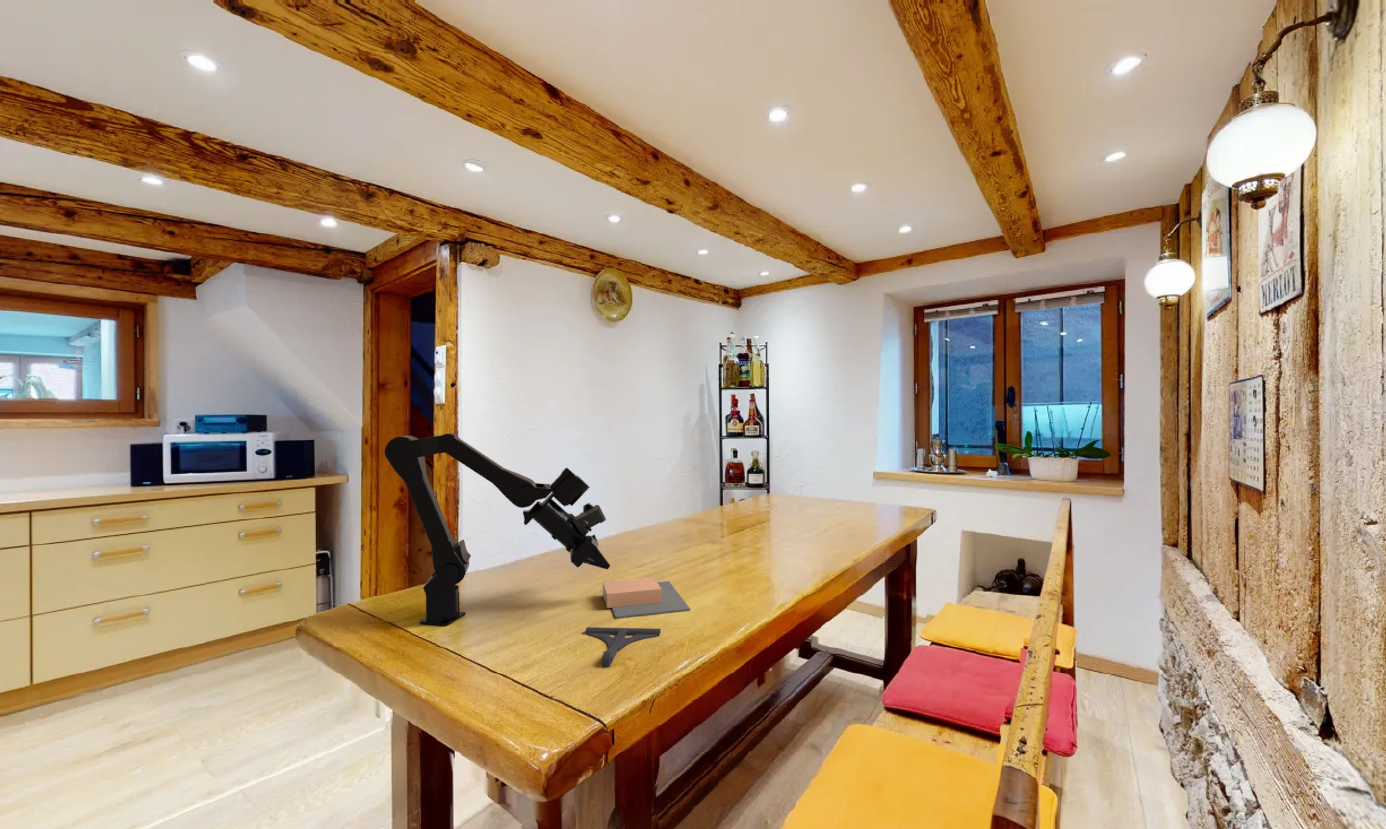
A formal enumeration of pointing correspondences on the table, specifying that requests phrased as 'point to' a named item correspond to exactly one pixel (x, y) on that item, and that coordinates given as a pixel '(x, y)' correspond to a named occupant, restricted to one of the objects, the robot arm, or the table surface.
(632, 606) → the mat
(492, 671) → the table surface
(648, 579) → the brick
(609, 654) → the bracket
